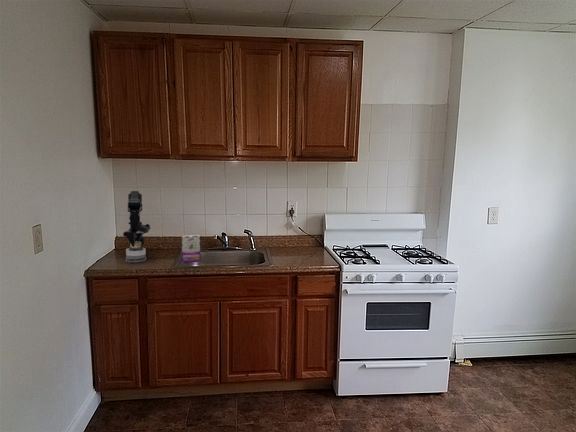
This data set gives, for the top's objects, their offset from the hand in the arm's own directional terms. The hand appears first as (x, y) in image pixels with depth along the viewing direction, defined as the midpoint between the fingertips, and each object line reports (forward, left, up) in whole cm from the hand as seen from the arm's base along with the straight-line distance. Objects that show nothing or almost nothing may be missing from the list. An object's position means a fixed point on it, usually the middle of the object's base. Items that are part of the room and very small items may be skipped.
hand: (135, 245), depth 232 cm
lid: (0, 0, -1) cm, 1 cm away
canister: (0, 0, -9) cm, 9 cm away
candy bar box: (-3, +34, -10) cm, 35 cm away
